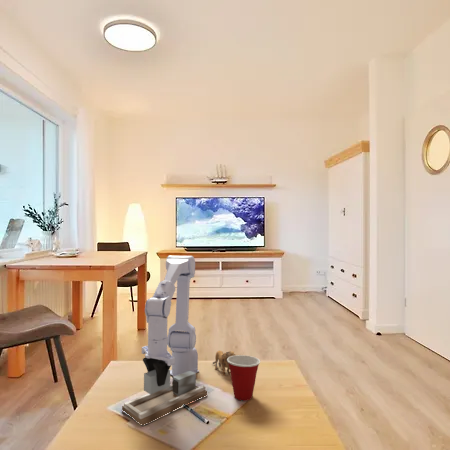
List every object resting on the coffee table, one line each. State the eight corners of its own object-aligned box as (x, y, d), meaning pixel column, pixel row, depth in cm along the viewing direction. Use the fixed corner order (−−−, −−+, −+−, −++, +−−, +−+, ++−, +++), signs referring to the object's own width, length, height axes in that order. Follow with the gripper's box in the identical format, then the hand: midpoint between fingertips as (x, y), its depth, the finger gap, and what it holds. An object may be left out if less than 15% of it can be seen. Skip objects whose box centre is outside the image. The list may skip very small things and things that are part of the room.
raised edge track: (185, 384, 116) (185, 365, 117) (207, 395, 109) (207, 375, 109) (122, 411, 99) (122, 389, 99) (142, 426, 92) (142, 402, 92)
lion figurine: (240, 376, 124) (240, 351, 124) (228, 379, 121) (228, 354, 121) (217, 363, 136) (218, 340, 136) (206, 366, 133) (206, 343, 133)
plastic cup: (264, 392, 111) (265, 355, 111) (253, 407, 101) (253, 367, 102) (234, 386, 116) (234, 350, 116) (221, 400, 106) (221, 361, 106)
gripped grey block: (143, 390, 100) (144, 373, 100) (164, 382, 106) (164, 366, 106) (150, 394, 98) (150, 377, 98) (171, 386, 103) (171, 369, 103)
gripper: (133, 335, 104) (132, 379, 104) (160, 346, 94) (160, 395, 94) (152, 330, 109) (152, 372, 109) (180, 340, 99) (180, 387, 99)
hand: (157, 382), depth 102 cm, fingers closed on gripped grey block, 3 cm apart
